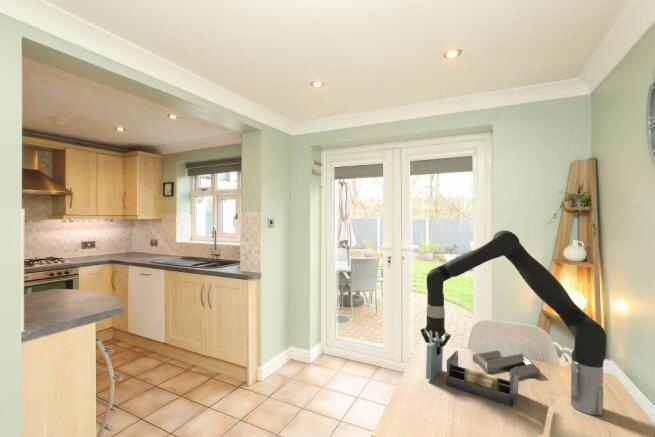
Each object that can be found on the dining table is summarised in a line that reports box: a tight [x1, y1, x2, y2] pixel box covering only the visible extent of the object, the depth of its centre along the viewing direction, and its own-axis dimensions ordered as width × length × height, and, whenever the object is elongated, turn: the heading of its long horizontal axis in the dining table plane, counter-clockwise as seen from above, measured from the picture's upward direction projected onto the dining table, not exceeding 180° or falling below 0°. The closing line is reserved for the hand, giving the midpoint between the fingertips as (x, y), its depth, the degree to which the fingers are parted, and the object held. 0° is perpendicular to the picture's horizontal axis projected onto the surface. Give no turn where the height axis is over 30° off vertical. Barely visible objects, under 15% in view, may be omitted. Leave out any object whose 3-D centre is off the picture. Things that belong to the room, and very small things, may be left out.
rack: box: [446, 350, 519, 409], centre depth 130 cm, size 24×12×12 cm, turn 51°
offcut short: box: [467, 374, 493, 389], centre depth 127 cm, size 9×2×6 cm, turn 51°
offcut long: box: [465, 367, 499, 391], centre depth 129 cm, size 12×2×7 cm, turn 51°
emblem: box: [472, 350, 541, 381], centre depth 151 cm, size 28×5×28 cm
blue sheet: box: [425, 337, 444, 381], centre depth 141 cm, size 14×2×14 cm, turn 141°
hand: (435, 353), depth 142 cm, fingers closed on blue sheet, 2 cm apart
